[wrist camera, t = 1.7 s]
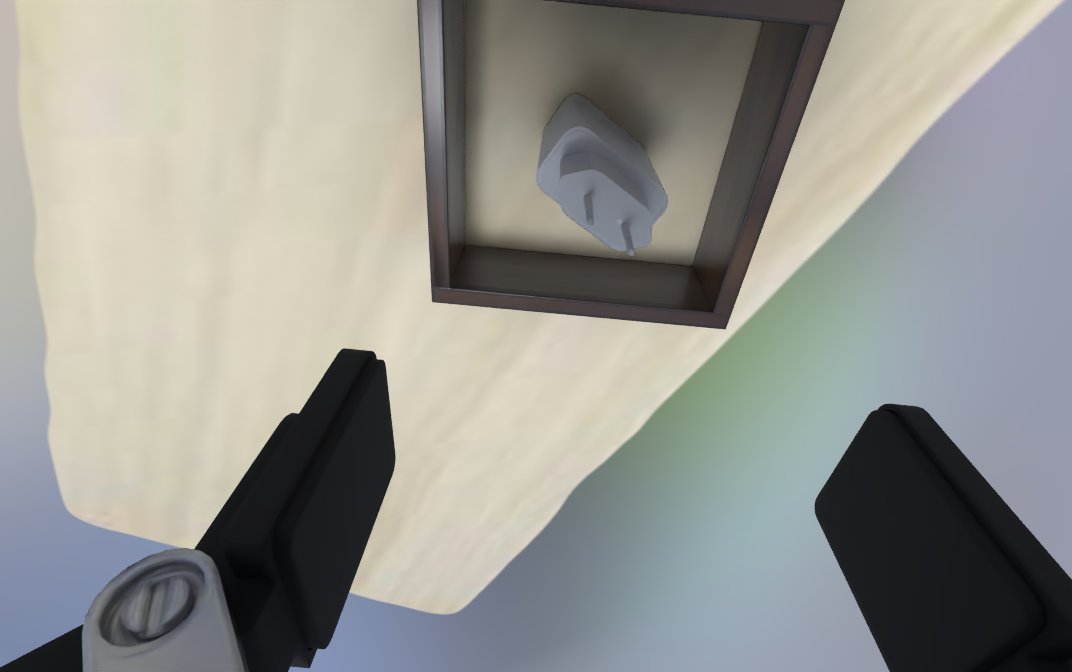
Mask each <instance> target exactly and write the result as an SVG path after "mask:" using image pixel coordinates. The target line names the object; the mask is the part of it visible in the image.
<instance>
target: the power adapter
mask: <svg viewBox="0 0 1072 672" xmlns="http://www.w3.org/2000/svg"><path fill="white" fill-rule="evenodd" d="M537 184H538V186H539V187H540V189H541V190H542V191H543V192H544V193H545V194H546V195H548V196H549V197H551V198H552V199H553V200H555V201H556V202H557V203H559V204H560V205H561V208H562V210H563V212H564V213H565V214H566V215H567V216H568V217H569V218H570V219H572V220H573V221H574V222H576V223H577V224H578V225H580V226H581V227H583V228H584V229H585V230H587V231H588V232H589V233H591V234H592V235H593V236H595V237H596V238H597V239H599V240H600V241H602V242H603V243H604V244H606V245H607V246H608V247H610V248H612V249H614V250H617V251H626V250H627V253H628V255H629V256H633V255H634V254H635V250H634V249H637V248H642V247H646V246H648V245H649V244H650V242H651V232H652V225H653V224H654V223H655V222H656V221H657V220H658V219H659V217H660V216H661V215H662V214H663V213H664V212H665V210H666V208H667V204H668V197H667V195H666V193H665V191H664V189H663V186H662V184H661V182H660V180H659V178H658V176H657V174H656V172H655V170H654V168H653V166H652V164H651V162H650V160H649V158H648V156H647V154H646V152H645V150H644V148H643V146H642V145H641V144H640V143H639V142H638V141H636V140H635V139H634V138H633V137H632V136H630V135H629V134H628V133H627V132H626V131H624V130H623V129H622V128H621V127H620V126H618V125H617V124H616V123H615V122H614V121H613V120H611V119H610V118H609V117H608V116H607V115H605V114H604V113H603V112H602V111H601V110H599V109H598V108H597V107H596V106H595V105H593V104H592V103H591V102H590V101H589V100H588V99H586V98H585V97H583V96H582V95H578V94H573V95H571V96H569V97H567V98H566V99H565V100H564V101H563V102H562V104H561V105H560V107H559V108H558V110H557V111H556V112H555V114H554V115H553V117H552V118H551V119H550V121H549V122H548V124H547V125H546V127H545V128H544V131H543V136H542V143H541V150H540V157H539V163H538V170H537Z"/></svg>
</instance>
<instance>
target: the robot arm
mask: <svg viewBox="0 0 1072 672" xmlns="http://www.w3.org/2000/svg"><path fill="white" fill-rule="evenodd" d="M394 467H395V447H394V438H393V429H392V420H391V411H390V401H389V392H388V383H387V374H386V366H385V362H384V360H378V359H376V355H375V353H374V352H373V351H365V350H355V349H345V348H344V349H342V350H341V351H340V352H339V353H338V354H337V356H336V358H335V359H334V361H333V362H332V364H331V365H330V367H329V368H328V370H327V371H326V373H325V374H324V376H323V378H322V379H321V381H320V382H319V384H318V385H317V387H316V388H315V390H314V391H313V393H312V395H311V396H310V398H309V399H308V401H307V402H306V404H305V405H304V407H303V408H302V410H301V411H300V413H299V414H297V413H291V414H289V415H287V416H286V417H285V418H284V419H283V420H282V421H281V422H280V424H279V425H278V427H277V428H276V430H275V431H274V433H273V434H272V436H271V437H270V439H269V440H268V441H267V443H266V444H265V446H264V447H263V449H262V450H261V452H260V453H259V455H258V456H257V458H256V459H255V461H254V462H253V464H252V465H251V467H250V468H249V469H248V471H247V472H246V474H245V475H244V477H243V478H242V480H241V481H240V483H239V484H238V486H237V487H236V489H235V490H234V492H233V493H232V494H231V496H230V497H229V499H228V500H227V502H226V503H225V505H224V506H223V508H222V509H221V511H220V512H219V514H218V515H217V517H216V518H215V519H214V521H213V522H212V524H211V525H210V527H209V528H208V530H207V531H206V533H205V534H204V536H203V537H202V539H201V540H200V542H199V543H198V544H197V546H196V547H195V549H194V550H193V549H188V548H181V549H171V550H166V551H163V552H159V553H157V554H153V555H150V556H147V557H145V558H144V559H142V560H140V561H138V562H136V563H135V564H132V565H131V566H129V567H127V568H126V569H125V570H123V572H121V573H120V574H118V575H117V576H116V577H115V578H113V579H112V580H111V581H110V582H109V583H108V584H107V585H106V586H105V587H104V589H103V590H102V591H101V592H100V593H99V594H98V595H97V597H95V599H94V601H93V603H92V605H91V606H90V608H89V610H88V612H87V614H86V616H85V620H84V624H83V625H81V626H79V627H77V628H75V629H73V630H71V631H69V632H67V633H65V634H64V635H62V636H60V637H58V638H56V639H54V640H52V641H50V642H48V643H46V644H44V645H42V646H41V647H39V648H37V649H35V650H33V651H31V652H29V653H27V654H25V655H23V656H21V657H20V658H18V659H16V660H14V661H12V662H10V663H8V664H6V665H4V666H2V667H0V672H288V670H289V668H290V666H292V667H303V668H310V666H311V664H312V661H313V658H314V656H315V653H316V651H317V649H326V647H327V646H328V645H329V643H330V641H331V639H332V636H333V634H334V631H335V628H336V626H337V623H338V620H339V618H340V615H341V612H342V610H343V607H344V604H345V601H346V599H347V596H348V593H349V591H350V588H351V585H352V583H353V580H354V577H355V575H356V572H357V569H358V566H359V564H360V561H361V558H362V556H363V553H364V550H365V548H366V545H367V542H368V539H369V537H370V534H371V531H372V529H373V526H374V523H375V521H376V518H377V515H378V512H379V510H380V507H381V504H382V502H383V499H384V496H385V494H386V491H387V488H388V485H389V483H390V480H391V477H392V475H393V471H394ZM815 514H816V517H817V519H818V521H819V523H820V526H821V528H822V530H823V532H824V534H825V536H826V538H827V540H828V542H829V545H830V547H831V549H832V551H833V553H834V555H835V557H836V559H837V561H838V563H839V566H840V568H841V570H842V572H843V574H844V576H845V578H846V580H847V582H848V585H849V587H850V589H851V591H852V593H853V595H854V597H855V599H856V601H857V604H858V606H859V608H860V610H861V612H862V614H863V616H864V618H865V620H866V623H867V625H868V627H869V629H870V631H871V633H872V635H873V637H874V639H875V641H876V643H877V646H878V648H879V650H880V652H881V654H882V656H883V658H884V660H885V662H886V665H887V667H888V669H889V671H890V672H1072V579H1071V578H1070V577H1069V576H1068V575H1067V574H1066V573H1065V571H1064V570H1063V569H1062V568H1061V567H1060V565H1059V564H1058V563H1057V562H1056V561H1055V560H1054V559H1053V558H1052V556H1051V555H1050V554H1049V553H1048V552H1047V550H1046V549H1045V548H1044V547H1043V546H1042V545H1041V544H1040V542H1039V541H1038V540H1037V539H1036V538H1035V536H1034V535H1033V534H1032V533H1031V532H1030V531H1029V530H1028V528H1027V527H1026V526H1025V525H1024V524H1023V523H1022V521H1021V520H1019V518H1018V517H1017V516H1016V514H1015V513H1014V512H1013V511H1012V510H1011V509H1010V507H1009V506H1008V505H1007V504H1006V503H1005V502H1004V501H1003V500H1002V498H1001V497H1000V496H999V495H998V494H997V492H996V491H995V490H994V489H993V488H992V487H991V486H990V484H989V483H988V482H987V481H986V480H985V478H984V477H983V476H982V475H981V474H980V473H979V472H978V470H977V469H976V468H975V467H974V466H973V465H972V463H970V461H969V460H968V459H967V458H966V456H965V455H964V454H963V453H962V452H961V451H960V449H959V448H958V447H957V446H956V445H955V444H954V443H953V442H952V440H951V439H950V438H949V437H948V436H947V434H946V433H945V432H944V431H943V430H942V429H941V427H940V426H939V425H938V424H937V423H936V422H935V421H934V419H933V418H932V417H931V416H930V415H929V413H928V412H926V411H925V410H924V409H923V408H920V407H916V406H907V405H897V404H884V405H882V406H881V407H879V409H878V410H875V411H873V412H871V413H870V414H869V416H868V417H867V419H866V421H865V422H864V424H863V425H862V427H861V428H860V430H859V431H858V433H857V435H856V436H855V438H854V439H853V441H852V442H851V444H850V446H849V447H848V449H847V450H846V452H845V454H844V455H843V457H842V458H841V460H840V462H839V463H838V465H837V467H836V468H835V469H834V471H833V473H832V474H831V476H830V477H829V479H828V481H827V482H826V484H825V485H824V487H823V488H822V490H821V492H820V493H819V495H818V497H817V498H816V501H815Z"/></svg>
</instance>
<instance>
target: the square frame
mask: <svg viewBox="0 0 1072 672" xmlns="http://www.w3.org/2000/svg"><path fill="white" fill-rule="evenodd" d="M545 1H556V2H566V3H577V4H587V5H597V6H608V7H618V8H629V9H639V10H649V11H660V12H670V13H681V14H691V15H701V16H712V17H722V18H732V19H743V20H753V21H764V22H763V25H762V29H761V32H760V36H759V39H758V43H757V46H756V50H755V53H754V56H753V60H752V63H751V67H750V70H749V74H748V77H747V81H746V84H745V87H744V91H743V94H742V98H741V101H740V105H739V108H738V111H737V115H736V118H735V122H734V125H733V129H732V132H731V136H730V139H729V142H728V146H727V149H726V153H725V156H724V160H723V163H722V167H721V170H720V173H719V177H718V180H717V184H716V187H715V191H714V194H713V198H712V201H711V204H710V208H709V211H708V215H707V218H706V222H705V225H704V229H703V232H702V235H701V239H700V242H699V246H698V249H697V253H696V256H695V259H694V263H693V267H691V266H681V265H670V264H659V263H649V262H638V261H627V260H617V259H606V258H595V257H584V256H574V255H563V254H552V253H542V252H531V251H520V250H510V249H499V248H488V247H478V246H467V245H465V81H464V0H417V8H418V28H419V48H420V69H421V89H422V109H423V130H424V150H425V170H426V190H427V211H428V231H429V251H430V271H431V292H432V302H437V303H448V304H459V305H469V306H480V307H491V308H502V309H512V310H523V311H534V312H545V313H555V314H566V315H577V316H588V317H598V318H609V319H620V320H631V321H642V322H652V323H663V324H674V325H685V326H695V327H706V328H717V329H726V327H727V324H728V321H729V318H730V316H731V313H732V310H733V308H734V305H735V302H736V299H737V296H738V294H739V291H740V288H741V285H742V283H743V280H744V277H745V274H746V272H747V269H748V266H749V263H750V261H751V258H752V255H753V252H754V250H755V247H756V244H757V241H758V239H759V236H760V233H761V230H762V228H763V225H764V222H765V219H766V217H767V214H768V211H769V208H770V206H771V203H772V200H773V197H774V195H775V192H776V189H777V186H778V184H779V181H780V178H781V175H782V173H783V170H784V167H785V164H786V161H787V159H788V156H789V153H790V150H791V148H792V145H793V142H794V139H795V137H796V134H797V131H798V128H799V126H800V123H801V120H802V117H803V115H804V112H805V109H806V106H807V104H808V101H809V98H810V95H811V93H812V90H813V87H814V84H815V82H816V79H817V76H818V73H819V71H820V68H821V65H822V62H823V60H824V57H825V54H826V51H827V49H828V46H829V43H830V40H831V38H832V35H833V32H834V29H835V26H836V24H837V21H838V18H839V15H840V13H841V10H842V7H843V4H844V2H845V0H545Z"/></svg>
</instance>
